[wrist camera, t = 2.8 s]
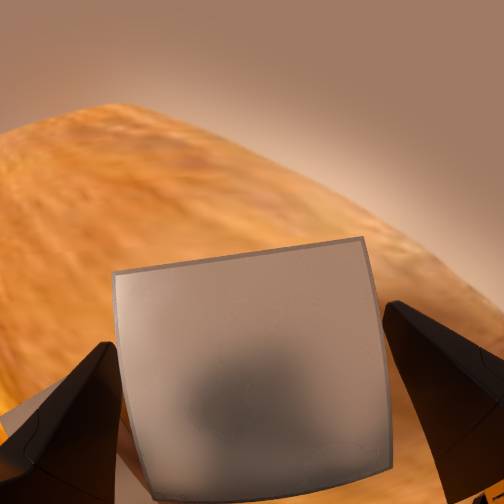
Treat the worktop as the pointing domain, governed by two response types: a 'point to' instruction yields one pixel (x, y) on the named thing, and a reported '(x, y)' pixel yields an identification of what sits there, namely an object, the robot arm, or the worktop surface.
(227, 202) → the worktop surface
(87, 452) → the robot arm
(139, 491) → the block
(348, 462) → the tin
